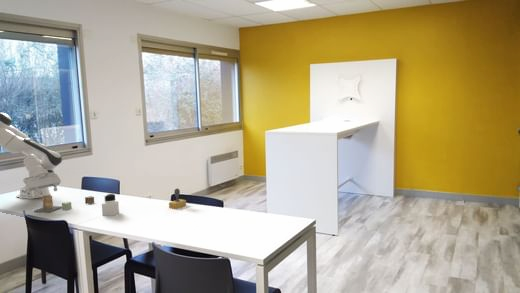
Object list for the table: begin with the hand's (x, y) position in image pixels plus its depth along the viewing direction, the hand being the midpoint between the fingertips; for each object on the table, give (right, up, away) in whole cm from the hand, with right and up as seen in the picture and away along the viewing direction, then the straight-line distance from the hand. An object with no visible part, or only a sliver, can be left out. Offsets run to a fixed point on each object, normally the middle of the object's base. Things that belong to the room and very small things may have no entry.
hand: (48, 192), depth 251 cm
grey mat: (-1, -11, +1) cm, 11 cm away
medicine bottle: (+43, -12, -11) cm, 46 cm away
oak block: (-1, -10, +1) cm, 11 cm away
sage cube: (+9, -11, +4) cm, 15 cm away
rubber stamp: (+81, -10, +3) cm, 81 cm away
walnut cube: (+19, -9, +17) cm, 27 cm away
